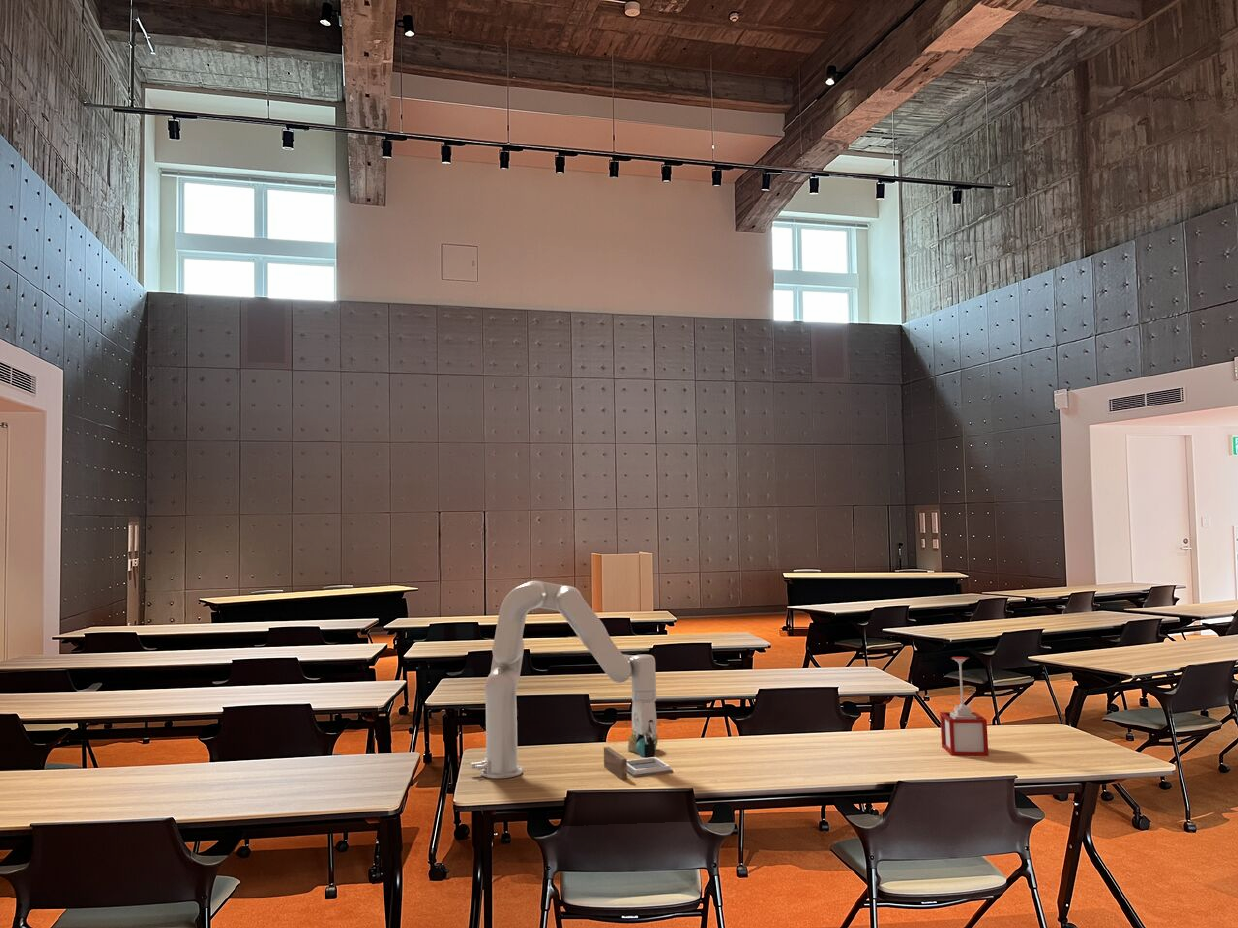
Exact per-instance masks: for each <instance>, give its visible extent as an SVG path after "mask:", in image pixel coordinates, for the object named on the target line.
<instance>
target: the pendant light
mask: <svg viewBox="0 0 1238 928" xmlns="http://www.w3.org/2000/svg"><path fill="white" fill-rule="evenodd" d="M968 659H969V657H965V656H952V657H951V660H954V661H955V662H957V664H958V666H959V667H958V668H959V686H960V687H959V688H960V704H956V705H955V706H953V711H949V712H948V711H946V712H945V711H943V712H941V711H940V712H939V713H940V714H939V715H940V716H939V717H940V733H941V747H942V748H943V749H944V750H945V751H946V752H947V753H948V754H949V755H950V756H954V757H955V756H957V757H959V756H960V757H964V756H965V757H969V756H970V757H972V756H973V757H989V755H990V754H989V740H988V738H989V737H988V725H987V722H988V721H987V719H986V718H985V717H984V716H982V715H981V714H979V713H977V712H973V711H972V709H971V706H970V705H966V704H965V699H964V690H963V689H964V687H963V685H964V684H963V672H962V671H963V669H962V668H963V666H962V665H963V663H964V662H965V661H966V660H968Z"/></svg>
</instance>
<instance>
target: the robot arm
mask: <svg viewBox="0 0 1238 928" xmlns="http://www.w3.org/2000/svg"><path fill="white" fill-rule="evenodd" d="M538 608H540V609H545V610H546V609H547V610H550V611H551V610H552V611H558V612H559V614H560V615H561V616H562V617H563V618H564V620H565V621H566V622H567V623H568V624H569V626H570V627H571V629H572V630H573V631H574V633H575V634H576V636H577V637H578V638H579V639H580V641H581V643H582V644H583V645H584V646H585V648H586V649H587V650H588V651H589V652H590V654H591V655H592V657H593V658H594V659H595V660H596V662H597V663H598V665H599V666H600V667H601V669H602V670H603V672H604V673H605V674H606V675H607V677H608V678H609V680H611V681H613V682H615V683H617V684H622V683H624V682H626V681H628V680H629V679H630V677H631V701H632V706H631V729H632V730H634V731H635V732H636V739H637V740H636V743H637V742H638V741H639V740H640V739H642V738H645V743H646V744H644V748H645V758H651V757H656V750H655V738H656V733H657V731H658V725H657V724H658V723H657V711H656V701H657V683H656V682H657V681H656V680H657V678H656V677H657V676H656V673H657V672H656V659H655V656H653V655H652V654H645V653H644V654H636V655H631V654H623V653H622V652H621V651H620V649H619V648H618V646H617V645H616V644H615V642H614V641H613V640H612V638H611V636H610V635H609V633H608V630H607V629H606V626H605V625H604V623H603V621H601V619H600V618H599V617H598V615H597V614H596V613H595V611H594V610H593V609H592V608H591V606H590V605H589V603H588V602H587V601H586V600H585V599H584V597H583V596H582V593H581V591H580V590H579V589H577V588H576V587H575V586H571V585H564V584H557V583H553V582H546V581H541V580H540V581H539V580H530V581H528V582H526V583H523V584H521V585H519V586H516V587H515V588H513V589H512V590H510V591H509V592H508V593H507V595H506V596H504V599H503V600H502V603H501V605H500V608H499V613H498V617H497V624H496V629H495V635H494V638H493V639H494V640H493V644H492V646H491V647H492V648H491V651H492V652H491V653H492V661H491V667H490V668H491V669H490V673H489V674H488V676H487V678H486V679H485V684H484V702H485V738H486V739H485V752H486V753H485V754H486V755H485V756H486V757H483V760H481V761H479V762H477V761H476V762H470V769H471V770H476V771H480V774H481V776H482V777H484V778H487V779H494V780H496V779H497V780H499V779H510V778H513V777H514V778H515V777H517V776H520V775H521V774H523V767H522V766H521V765H518V719H517V717H518V708H517V705H518V704H517V689H518V686H519V683H520V679H521V672H522V665H523V660H524V659H523V657H524V650H525V641H524V639H523V636H524V631H525V630H524V629H525V626H526V625H525V624H526V619H527V615H528V613H530V611H531V610H535V609H538ZM647 732H650V733H648V734H647ZM647 736H650V737H649V738H648V737H647Z"/></svg>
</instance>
